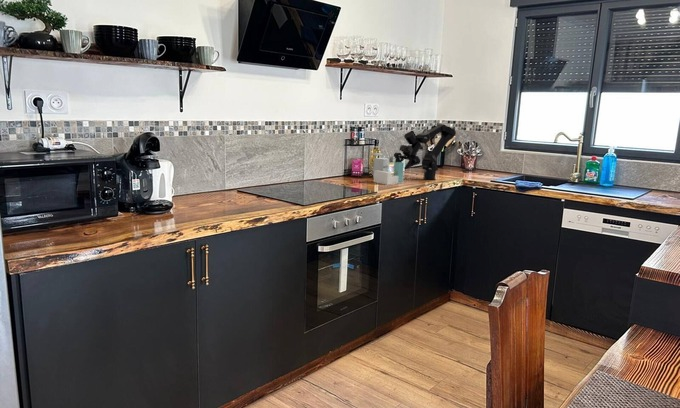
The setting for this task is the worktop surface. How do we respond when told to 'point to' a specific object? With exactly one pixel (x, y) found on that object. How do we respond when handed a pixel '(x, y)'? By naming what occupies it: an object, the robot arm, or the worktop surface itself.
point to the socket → (385, 177)
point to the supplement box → (381, 164)
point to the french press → (375, 155)
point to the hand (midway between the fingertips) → (399, 168)
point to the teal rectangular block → (398, 170)
